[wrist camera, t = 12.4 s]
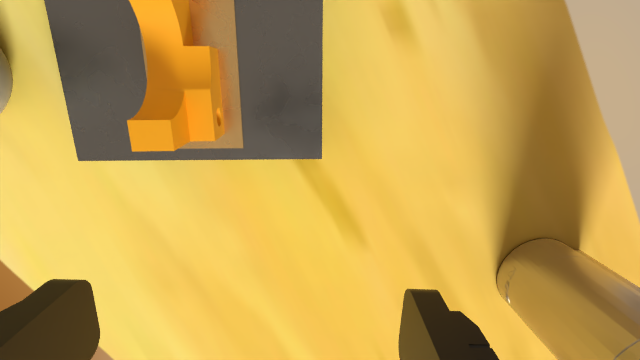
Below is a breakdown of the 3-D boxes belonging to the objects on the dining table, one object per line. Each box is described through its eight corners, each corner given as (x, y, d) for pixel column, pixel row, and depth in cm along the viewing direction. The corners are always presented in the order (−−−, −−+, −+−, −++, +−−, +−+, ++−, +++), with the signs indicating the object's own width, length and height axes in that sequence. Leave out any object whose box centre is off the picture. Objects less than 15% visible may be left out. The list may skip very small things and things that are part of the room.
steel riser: (319, -39, 29) (323, -62, 24) (318, 147, 34) (321, 159, 29) (76, -44, 28) (27, -69, 23) (110, 148, 33) (76, 161, 28)
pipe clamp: (224, 133, 28) (202, 150, 22) (170, 134, 27) (132, 151, 21) (210, -35, 24) (178, -73, 18) (147, -36, 24) (94, -74, 18)
